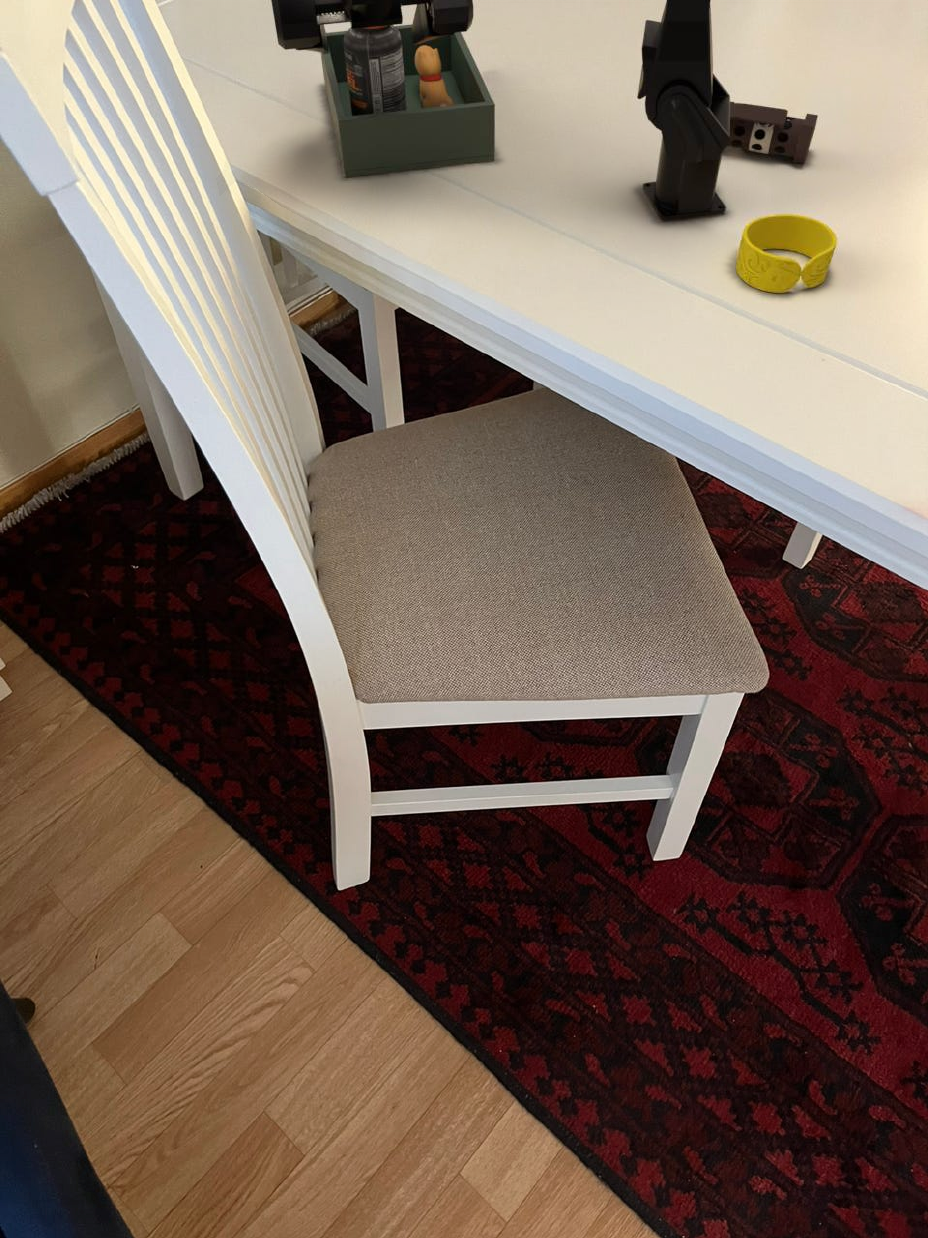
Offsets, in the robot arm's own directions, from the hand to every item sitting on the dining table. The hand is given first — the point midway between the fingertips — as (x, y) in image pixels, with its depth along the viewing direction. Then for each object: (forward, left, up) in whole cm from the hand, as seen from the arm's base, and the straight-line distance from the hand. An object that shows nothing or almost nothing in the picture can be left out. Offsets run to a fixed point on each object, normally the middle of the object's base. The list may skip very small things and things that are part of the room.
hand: (370, 43), depth 97 cm
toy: (0, -7, -7) cm, 10 cm away
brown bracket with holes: (-17, -43, -8) cm, 47 cm away
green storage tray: (0, -3, -8) cm, 8 cm away
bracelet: (-36, -31, -9) cm, 49 cm away
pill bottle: (-1, 0, -7) cm, 8 cm away
